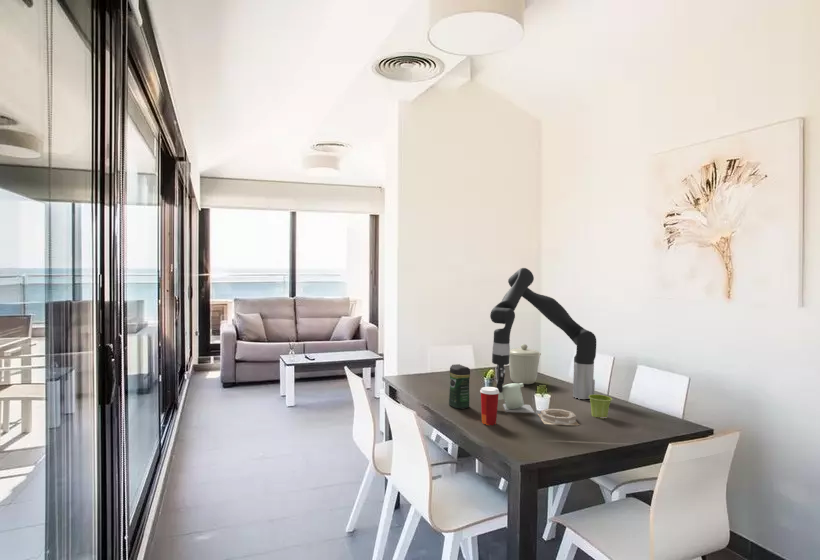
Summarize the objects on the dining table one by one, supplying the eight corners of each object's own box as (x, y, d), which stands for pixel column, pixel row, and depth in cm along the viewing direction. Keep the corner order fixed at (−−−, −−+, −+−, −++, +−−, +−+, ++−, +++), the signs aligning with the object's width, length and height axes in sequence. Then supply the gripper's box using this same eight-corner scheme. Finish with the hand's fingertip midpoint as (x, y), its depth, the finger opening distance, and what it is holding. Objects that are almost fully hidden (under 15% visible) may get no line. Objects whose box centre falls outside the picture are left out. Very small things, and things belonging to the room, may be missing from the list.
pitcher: (525, 400, 224) (521, 381, 224) (528, 405, 216) (524, 385, 216) (491, 407, 225) (487, 388, 225) (493, 412, 217) (489, 392, 217)
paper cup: (501, 422, 202) (502, 388, 201) (494, 427, 195) (495, 392, 195) (483, 419, 206) (484, 385, 205) (475, 424, 199) (476, 389, 199)
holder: (570, 416, 212) (571, 409, 212) (579, 426, 198) (580, 419, 198) (537, 415, 213) (537, 407, 213) (544, 425, 199) (544, 417, 199)
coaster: (529, 406, 226) (529, 404, 226) (534, 414, 214) (534, 412, 214) (502, 405, 227) (502, 403, 227) (506, 413, 215) (506, 411, 215)
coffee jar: (472, 408, 221) (473, 366, 221) (456, 410, 218) (457, 367, 218) (461, 402, 230) (462, 362, 230) (446, 404, 227) (447, 363, 226)
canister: (511, 377, 286) (512, 340, 285) (543, 381, 278) (544, 343, 277) (502, 383, 270) (503, 344, 269) (536, 388, 262) (537, 348, 261)
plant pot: (613, 417, 213) (614, 396, 213) (608, 422, 205) (609, 401, 205) (591, 413, 218) (591, 393, 218) (585, 418, 210) (585, 397, 210)
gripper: (490, 349, 227) (489, 387, 228) (494, 355, 214) (492, 395, 214) (507, 350, 227) (505, 388, 227) (511, 356, 213) (509, 396, 214)
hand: (499, 391), depth 221 cm, fingers closed
